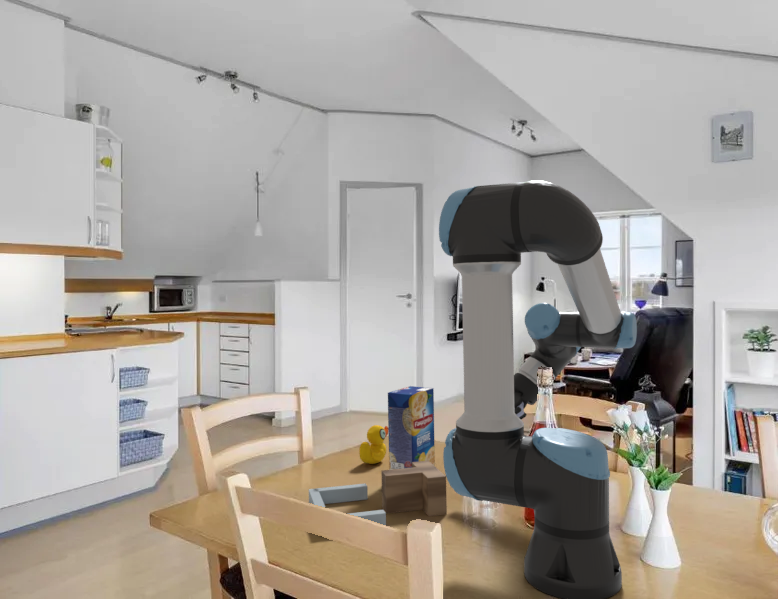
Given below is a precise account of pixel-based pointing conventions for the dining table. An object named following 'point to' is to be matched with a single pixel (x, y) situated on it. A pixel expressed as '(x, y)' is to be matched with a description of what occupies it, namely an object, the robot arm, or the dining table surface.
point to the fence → (346, 499)
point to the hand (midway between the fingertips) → (463, 461)
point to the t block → (414, 489)
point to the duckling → (374, 445)
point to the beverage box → (411, 426)
